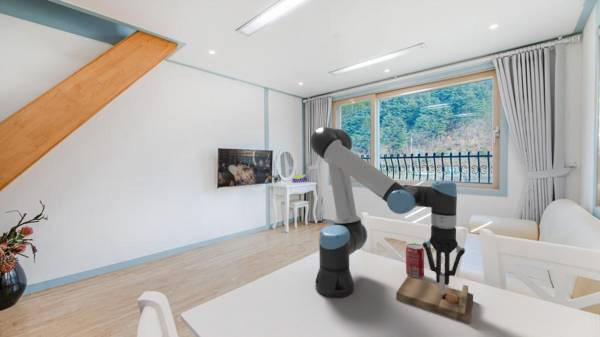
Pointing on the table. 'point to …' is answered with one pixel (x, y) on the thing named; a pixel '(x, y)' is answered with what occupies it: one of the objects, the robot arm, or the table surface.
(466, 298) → the wooden board
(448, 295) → the ball
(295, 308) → the table surface
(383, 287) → the table surface
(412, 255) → the soda can
